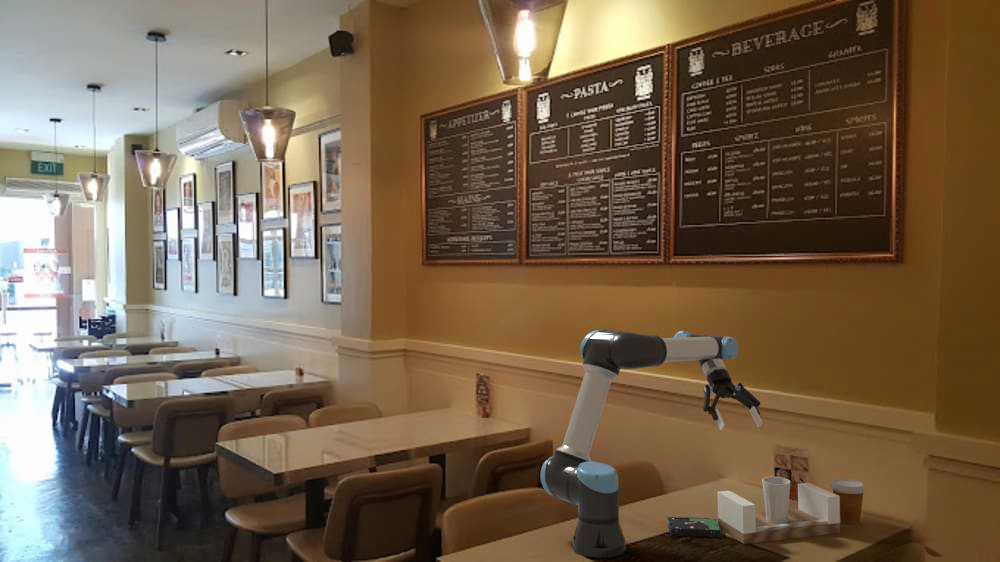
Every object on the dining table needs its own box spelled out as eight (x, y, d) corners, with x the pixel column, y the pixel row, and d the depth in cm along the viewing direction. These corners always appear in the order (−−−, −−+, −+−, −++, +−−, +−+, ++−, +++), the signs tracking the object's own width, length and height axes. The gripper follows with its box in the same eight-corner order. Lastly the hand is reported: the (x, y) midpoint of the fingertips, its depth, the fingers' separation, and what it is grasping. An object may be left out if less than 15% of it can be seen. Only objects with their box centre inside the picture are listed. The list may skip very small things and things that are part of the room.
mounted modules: (743, 533, 201) (742, 506, 201) (717, 517, 215) (717, 491, 215) (840, 522, 208) (839, 495, 208) (809, 507, 222) (808, 482, 222)
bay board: (743, 544, 201) (743, 531, 201) (718, 527, 215) (717, 515, 215) (840, 532, 208) (840, 520, 208) (809, 517, 222) (809, 505, 222)
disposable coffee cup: (845, 528, 212) (844, 488, 212) (824, 517, 221) (824, 479, 221) (872, 525, 214) (872, 485, 214) (851, 514, 223) (850, 477, 223)
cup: (758, 520, 211) (757, 481, 211) (769, 513, 217) (769, 475, 217) (784, 526, 206) (783, 486, 206) (795, 519, 211) (794, 479, 211)
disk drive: (670, 538, 209) (722, 538, 207) (670, 528, 209) (721, 529, 207) (667, 525, 219) (716, 526, 217) (667, 516, 219) (716, 517, 217)
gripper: (744, 379, 249) (770, 430, 234) (680, 383, 243) (703, 435, 229) (753, 366, 244) (780, 417, 229) (687, 369, 238) (711, 422, 224)
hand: (741, 426), depth 229 cm, fingers open, 13 cm apart
